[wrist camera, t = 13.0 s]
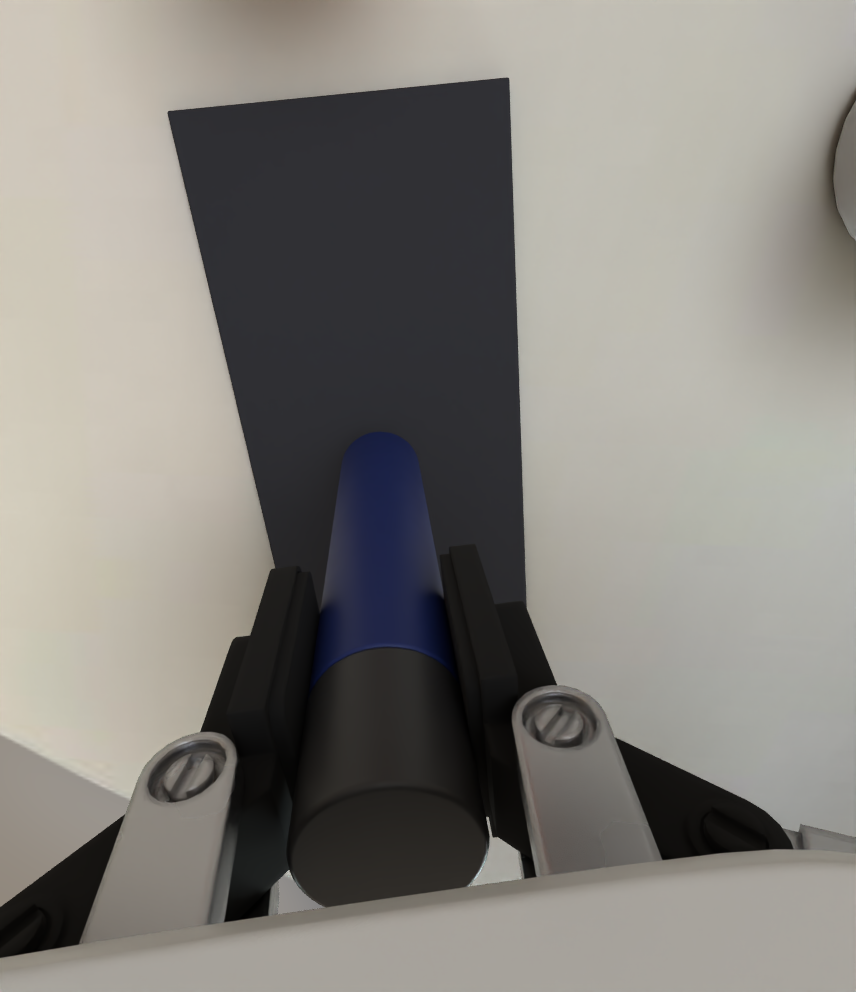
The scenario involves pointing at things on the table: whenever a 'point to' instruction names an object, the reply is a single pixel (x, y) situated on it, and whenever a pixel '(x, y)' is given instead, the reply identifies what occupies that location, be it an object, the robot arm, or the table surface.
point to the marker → (384, 704)
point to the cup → (846, 173)
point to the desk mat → (368, 303)
